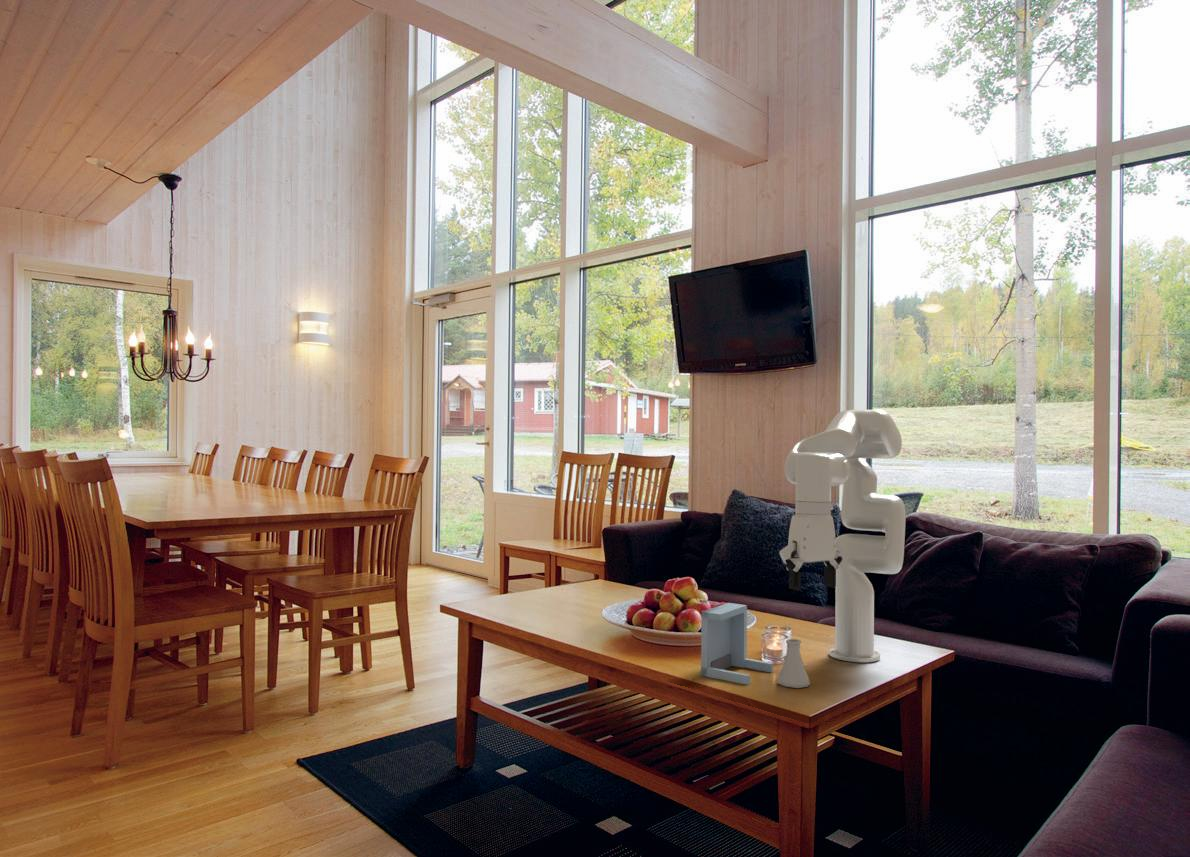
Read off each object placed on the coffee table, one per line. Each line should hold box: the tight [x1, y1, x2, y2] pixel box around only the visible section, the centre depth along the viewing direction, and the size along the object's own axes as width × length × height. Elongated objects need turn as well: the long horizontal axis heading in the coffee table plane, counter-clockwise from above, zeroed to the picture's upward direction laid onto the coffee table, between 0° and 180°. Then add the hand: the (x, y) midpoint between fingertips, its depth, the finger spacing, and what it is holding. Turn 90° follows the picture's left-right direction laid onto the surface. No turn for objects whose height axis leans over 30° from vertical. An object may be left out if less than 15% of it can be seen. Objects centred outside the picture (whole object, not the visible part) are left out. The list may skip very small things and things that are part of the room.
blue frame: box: [700, 602, 774, 686], centre depth 194 cm, size 14×12×15 cm
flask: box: [776, 638, 811, 689], centre depth 185 cm, size 7×7×10 cm
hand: (812, 588), depth 178 cm, fingers open, 9 cm apart
